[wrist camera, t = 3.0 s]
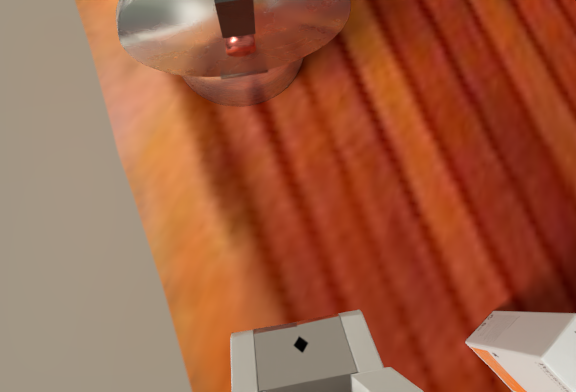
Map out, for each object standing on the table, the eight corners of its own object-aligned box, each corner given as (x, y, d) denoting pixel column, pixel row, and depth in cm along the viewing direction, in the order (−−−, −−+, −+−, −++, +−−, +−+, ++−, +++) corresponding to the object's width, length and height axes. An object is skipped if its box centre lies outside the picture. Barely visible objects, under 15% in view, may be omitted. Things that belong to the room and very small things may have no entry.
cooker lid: (372, -78, 22) (381, -31, 22) (329, 51, 37) (334, 79, 37) (70, -39, 21) (76, 10, 21) (154, 77, 36) (159, 106, 36)
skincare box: (462, 342, 39) (537, 356, 28) (492, 309, 40) (578, 309, 29) (513, 395, 38) (614, 432, 27) (543, 360, 39) (654, 382, 27)
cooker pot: (315, -19, 49) (323, -89, 40) (340, 91, 46) (355, 40, 37) (142, 5, 48) (112, -63, 39) (155, 120, 44) (124, 73, 36)
